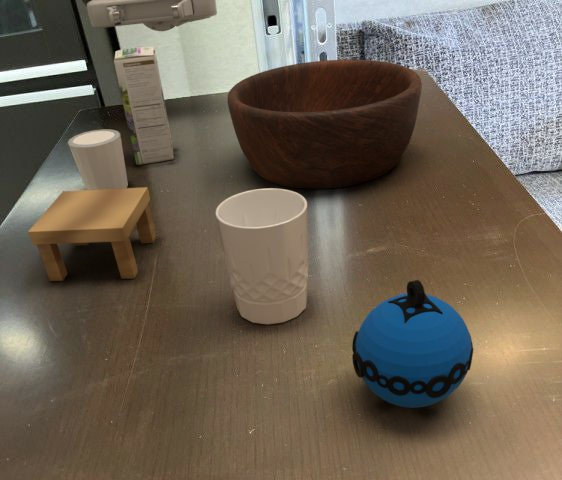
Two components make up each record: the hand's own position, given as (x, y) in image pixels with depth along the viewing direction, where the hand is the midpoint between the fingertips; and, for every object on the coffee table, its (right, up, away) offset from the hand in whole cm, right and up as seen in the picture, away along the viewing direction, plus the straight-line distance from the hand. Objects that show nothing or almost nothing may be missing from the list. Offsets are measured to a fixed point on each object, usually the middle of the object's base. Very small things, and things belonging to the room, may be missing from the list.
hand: (145, 15), depth 93 cm
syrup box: (+1, -21, +1) cm, 21 cm away
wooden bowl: (+27, -24, -7) cm, 37 cm away
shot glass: (-4, -28, -7) cm, 29 cm away
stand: (0, -41, -23) cm, 47 cm away
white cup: (+19, -47, -34) cm, 61 cm away
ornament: (+30, -56, -45) cm, 78 cm away
